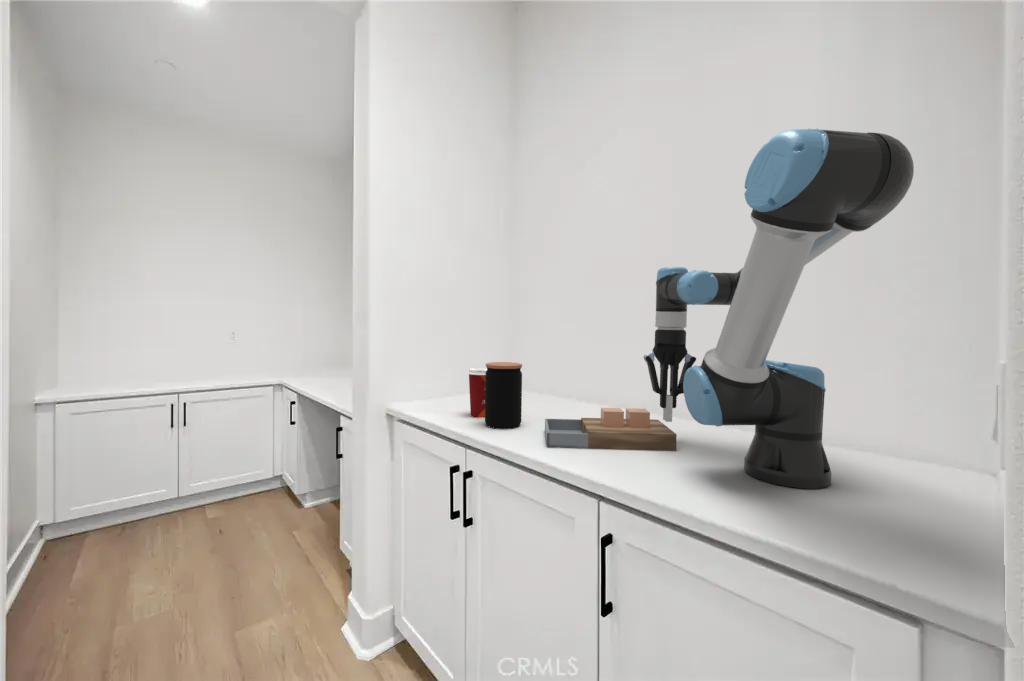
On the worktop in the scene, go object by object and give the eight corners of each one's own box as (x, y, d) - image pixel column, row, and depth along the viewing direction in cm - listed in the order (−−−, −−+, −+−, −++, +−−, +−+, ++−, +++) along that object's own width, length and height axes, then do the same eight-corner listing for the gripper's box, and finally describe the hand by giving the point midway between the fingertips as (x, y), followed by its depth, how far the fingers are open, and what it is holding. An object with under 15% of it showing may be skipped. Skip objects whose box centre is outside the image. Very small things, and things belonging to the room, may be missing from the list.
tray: (588, 448, 110) (588, 434, 110) (546, 447, 111) (547, 433, 110) (580, 432, 126) (581, 419, 126) (544, 431, 126) (544, 418, 126)
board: (676, 450, 109) (676, 434, 109) (588, 448, 110) (588, 432, 110) (657, 433, 125) (657, 419, 125) (580, 432, 126) (581, 417, 126)
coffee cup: (492, 418, 141) (493, 370, 140) (465, 418, 141) (466, 370, 140) (493, 413, 149) (494, 367, 149) (468, 412, 150) (469, 367, 149)
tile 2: (649, 428, 115) (649, 412, 115) (629, 427, 115) (629, 412, 115) (644, 423, 120) (645, 408, 120) (625, 423, 120) (625, 408, 120)
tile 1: (623, 427, 115) (623, 411, 115) (603, 427, 115) (604, 411, 115) (619, 423, 120) (620, 408, 120) (600, 422, 120) (600, 407, 120)
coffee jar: (522, 421, 138) (523, 362, 137) (519, 430, 127) (520, 366, 126) (487, 420, 139) (488, 361, 138) (481, 428, 128) (482, 365, 127)
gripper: (691, 328, 119) (688, 417, 121) (641, 328, 120) (638, 416, 121) (702, 329, 112) (698, 424, 113) (648, 328, 112) (645, 423, 114)
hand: (667, 420), depth 117 cm, fingers closed
